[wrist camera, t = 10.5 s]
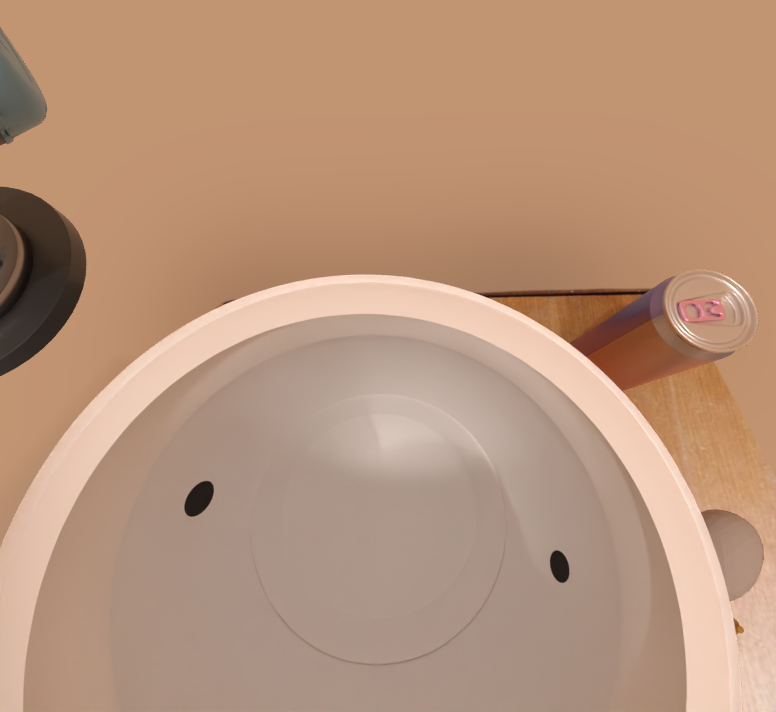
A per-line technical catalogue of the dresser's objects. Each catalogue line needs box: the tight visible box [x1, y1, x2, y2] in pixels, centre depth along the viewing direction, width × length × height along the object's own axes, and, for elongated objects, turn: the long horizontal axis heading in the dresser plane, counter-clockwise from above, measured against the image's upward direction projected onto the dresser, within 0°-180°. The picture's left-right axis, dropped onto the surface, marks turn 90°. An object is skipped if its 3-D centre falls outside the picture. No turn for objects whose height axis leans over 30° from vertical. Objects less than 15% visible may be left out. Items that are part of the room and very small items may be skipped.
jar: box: [0, 275, 743, 712], centre depth 12 cm, size 11×10×15 cm
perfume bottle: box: [701, 509, 764, 634], centre depth 26 cm, size 8×10×12 cm
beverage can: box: [570, 269, 759, 391], centre depth 30 cm, size 6×6×15 cm
